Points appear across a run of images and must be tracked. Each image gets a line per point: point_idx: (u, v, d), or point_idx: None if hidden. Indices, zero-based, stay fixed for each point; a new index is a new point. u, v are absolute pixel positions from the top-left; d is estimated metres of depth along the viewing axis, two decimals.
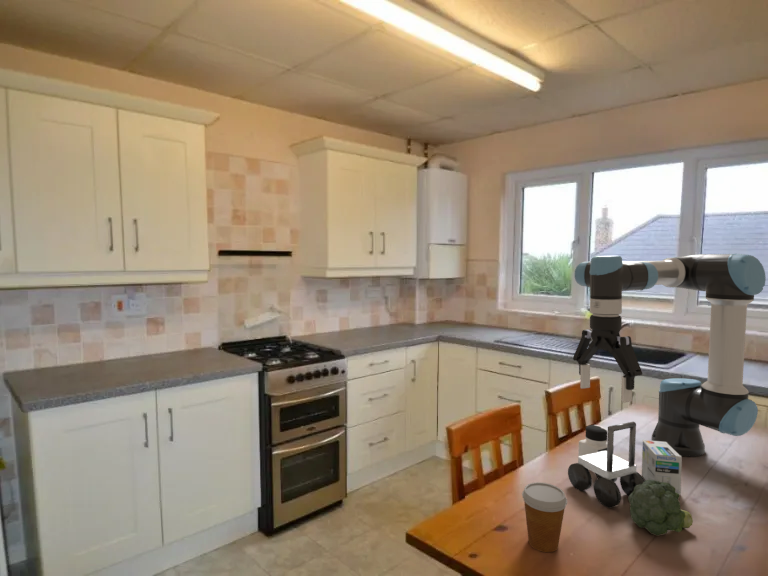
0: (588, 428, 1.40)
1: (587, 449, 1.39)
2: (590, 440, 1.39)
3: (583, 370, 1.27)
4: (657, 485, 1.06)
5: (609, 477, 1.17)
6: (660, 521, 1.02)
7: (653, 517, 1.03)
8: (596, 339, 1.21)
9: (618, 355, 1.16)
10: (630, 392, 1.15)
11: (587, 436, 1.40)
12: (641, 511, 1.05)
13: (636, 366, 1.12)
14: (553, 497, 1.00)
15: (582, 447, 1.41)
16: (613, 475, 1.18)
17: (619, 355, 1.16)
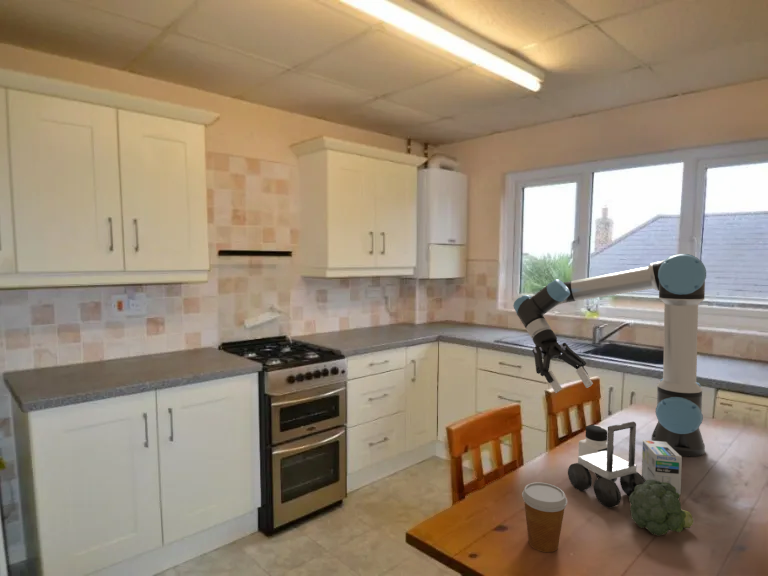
0: (588, 428, 1.40)
1: (587, 449, 1.39)
2: (590, 440, 1.39)
3: (578, 374, 1.54)
4: (657, 485, 1.06)
5: (609, 477, 1.17)
6: (661, 521, 1.02)
7: (654, 517, 1.03)
8: None
9: (543, 361, 1.53)
10: (555, 383, 1.45)
11: (587, 436, 1.40)
12: (642, 511, 1.05)
13: (537, 365, 1.49)
14: (553, 497, 1.00)
15: (582, 447, 1.41)
16: (613, 475, 1.18)
17: (544, 360, 1.52)
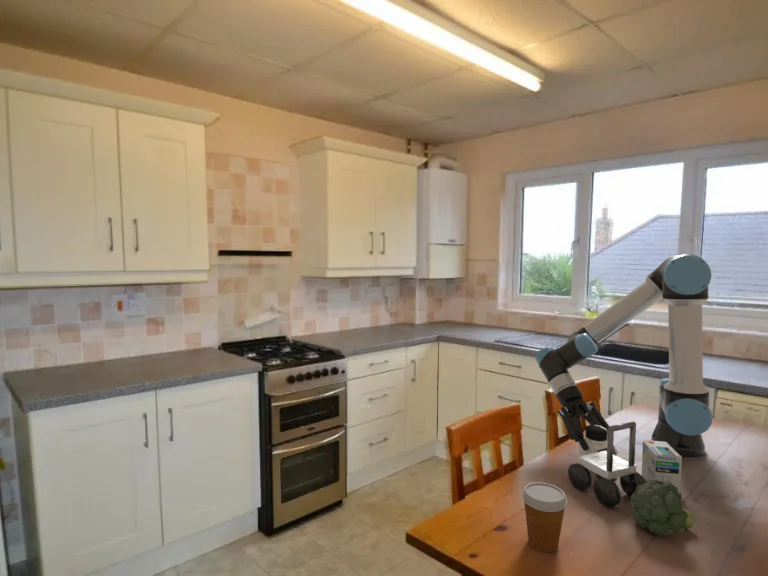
0: (588, 428, 1.40)
1: None
2: (590, 440, 1.39)
3: None
4: (659, 485, 1.06)
5: (609, 477, 1.17)
6: (663, 521, 1.02)
7: (656, 517, 1.03)
8: None
9: (573, 423, 1.44)
10: (591, 451, 1.36)
11: (587, 436, 1.40)
12: (644, 511, 1.05)
13: (570, 431, 1.40)
14: (553, 497, 1.00)
15: None
16: (613, 475, 1.18)
17: (573, 422, 1.44)
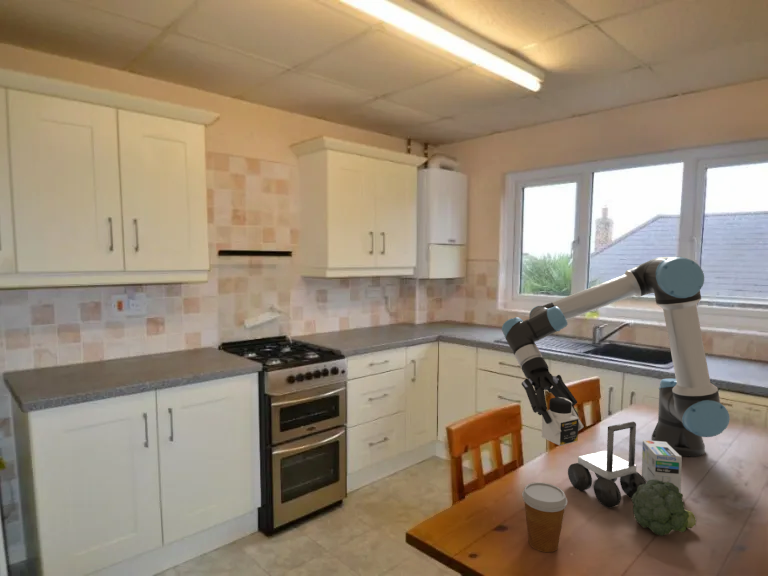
0: (552, 400, 1.32)
1: None
2: (553, 412, 1.31)
3: None
4: (660, 485, 1.06)
5: (609, 477, 1.17)
6: (664, 521, 1.02)
7: (657, 517, 1.03)
8: None
9: (537, 396, 1.36)
10: (554, 424, 1.29)
11: (550, 408, 1.32)
12: (645, 511, 1.05)
13: (533, 403, 1.32)
14: (553, 497, 1.00)
15: None
16: (613, 475, 1.18)
17: (537, 395, 1.36)
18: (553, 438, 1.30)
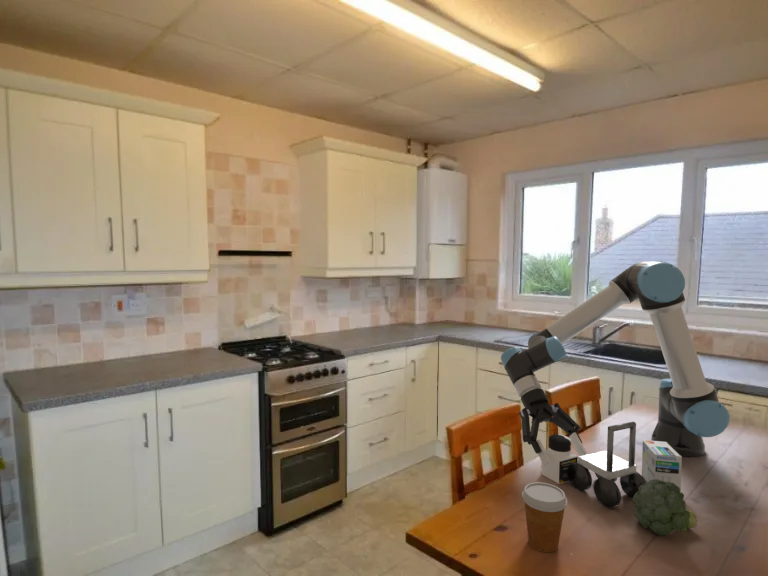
0: (551, 438, 1.32)
1: None
2: (552, 450, 1.31)
3: (571, 440, 1.37)
4: (661, 485, 1.06)
5: (609, 477, 1.17)
6: (665, 521, 1.02)
7: (658, 517, 1.03)
8: None
9: (531, 426, 1.36)
10: (543, 454, 1.29)
11: (550, 446, 1.32)
12: (646, 511, 1.05)
13: (524, 432, 1.33)
14: (553, 497, 1.00)
15: None
16: (613, 475, 1.18)
17: (532, 425, 1.36)
18: (552, 476, 1.31)
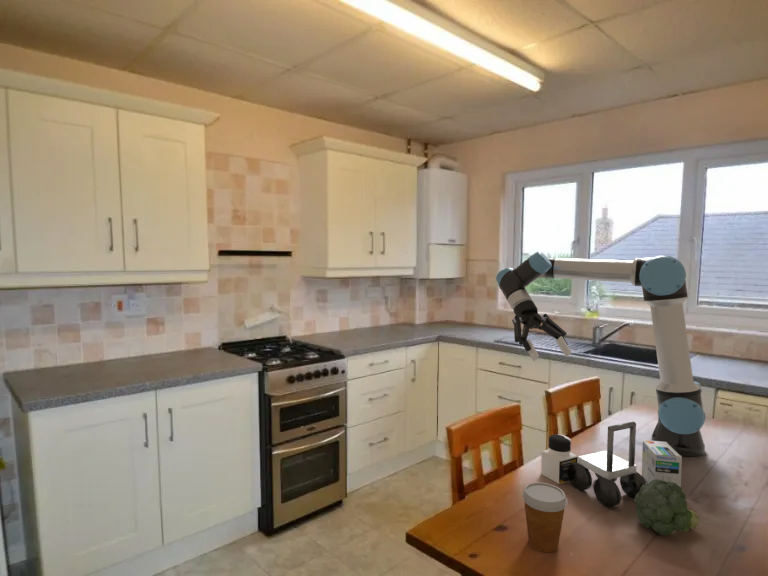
0: (551, 438, 1.32)
1: (549, 460, 1.32)
2: (552, 450, 1.31)
3: (558, 344, 1.54)
4: (663, 485, 1.06)
5: (609, 477, 1.17)
6: (667, 521, 1.02)
7: (660, 517, 1.03)
8: None
9: (523, 330, 1.54)
10: (532, 351, 1.46)
11: (550, 446, 1.32)
12: (648, 511, 1.05)
13: (516, 334, 1.50)
14: (553, 497, 1.00)
15: (544, 458, 1.33)
16: (613, 475, 1.18)
17: (523, 329, 1.53)
18: (552, 476, 1.31)
